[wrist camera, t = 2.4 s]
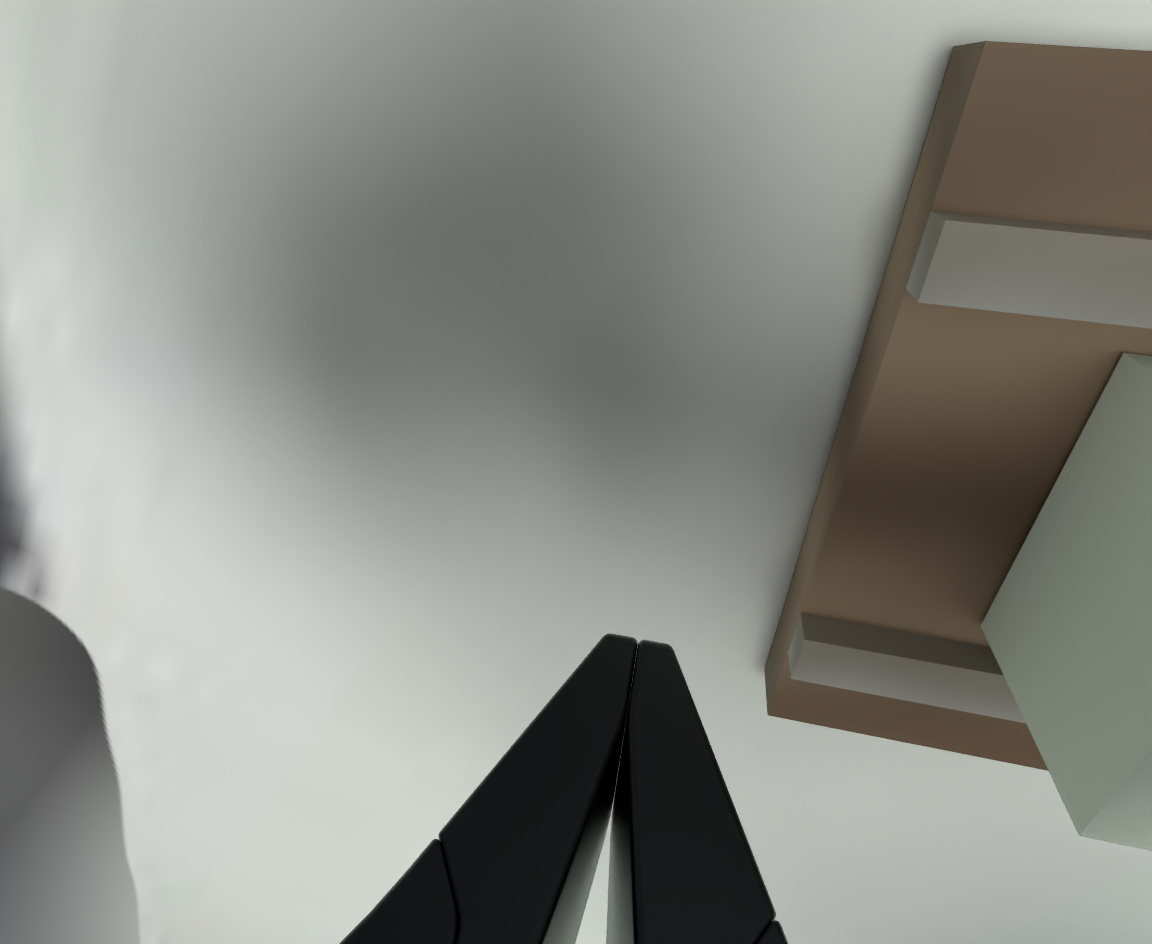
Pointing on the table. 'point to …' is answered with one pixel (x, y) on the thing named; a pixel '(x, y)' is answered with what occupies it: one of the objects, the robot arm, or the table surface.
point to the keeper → (1090, 618)
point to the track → (972, 393)
